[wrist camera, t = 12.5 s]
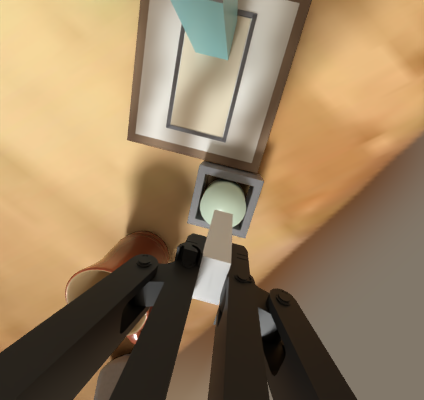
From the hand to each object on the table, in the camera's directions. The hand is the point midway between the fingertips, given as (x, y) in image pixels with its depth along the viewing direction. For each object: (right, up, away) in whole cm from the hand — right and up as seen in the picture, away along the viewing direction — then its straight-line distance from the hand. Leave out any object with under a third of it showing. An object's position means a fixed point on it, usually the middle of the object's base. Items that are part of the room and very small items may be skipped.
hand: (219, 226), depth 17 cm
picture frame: (-1, +15, +6) cm, 17 cm away
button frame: (+1, +3, +10) cm, 10 cm away
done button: (+1, +2, +8) cm, 8 cm away
